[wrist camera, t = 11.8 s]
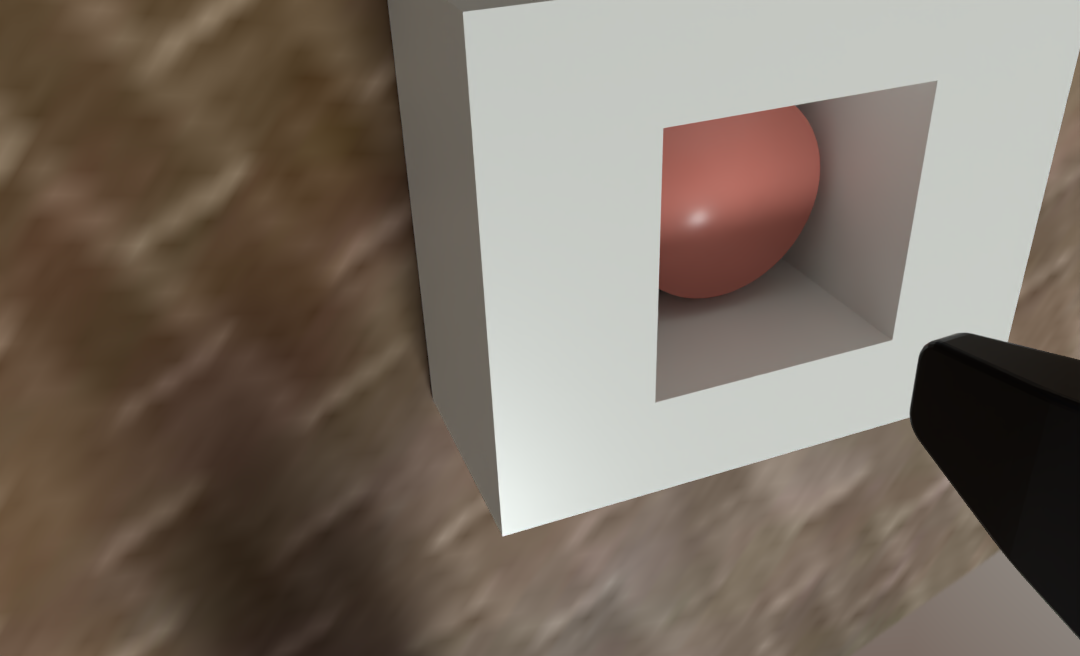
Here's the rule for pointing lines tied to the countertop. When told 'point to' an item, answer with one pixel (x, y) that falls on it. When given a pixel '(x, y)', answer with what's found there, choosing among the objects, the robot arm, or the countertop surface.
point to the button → (733, 198)
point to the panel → (635, 216)
